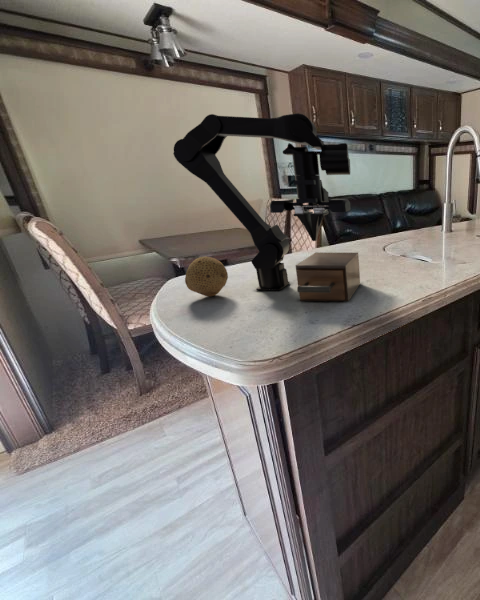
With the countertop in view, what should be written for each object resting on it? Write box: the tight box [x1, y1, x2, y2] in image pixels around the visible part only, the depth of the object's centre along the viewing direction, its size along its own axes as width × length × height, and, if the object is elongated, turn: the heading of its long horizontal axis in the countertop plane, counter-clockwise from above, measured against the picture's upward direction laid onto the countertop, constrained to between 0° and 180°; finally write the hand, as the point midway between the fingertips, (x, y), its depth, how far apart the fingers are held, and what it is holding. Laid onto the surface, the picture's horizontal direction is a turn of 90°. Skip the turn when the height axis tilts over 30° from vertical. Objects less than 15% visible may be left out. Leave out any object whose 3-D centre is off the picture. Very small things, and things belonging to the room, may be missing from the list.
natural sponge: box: [184, 256, 229, 298], centre depth 76 cm, size 9×9×10 cm
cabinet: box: [295, 251, 361, 302], centre depth 79 cm, size 14×12×9 cm
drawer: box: [296, 269, 345, 300], centre depth 75 cm, size 17×10×7 cm, turn 175°
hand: (314, 240), depth 81 cm, fingers closed
